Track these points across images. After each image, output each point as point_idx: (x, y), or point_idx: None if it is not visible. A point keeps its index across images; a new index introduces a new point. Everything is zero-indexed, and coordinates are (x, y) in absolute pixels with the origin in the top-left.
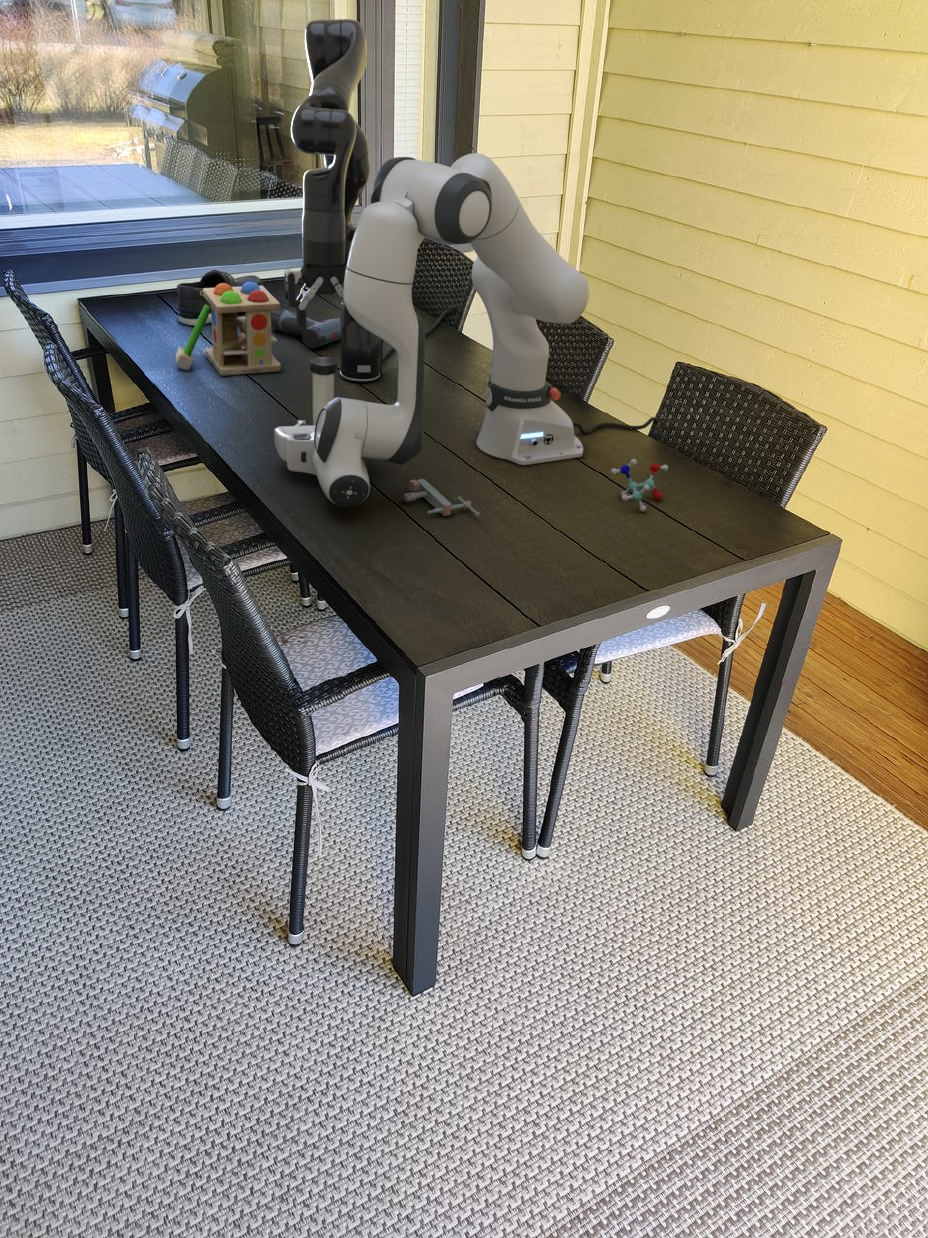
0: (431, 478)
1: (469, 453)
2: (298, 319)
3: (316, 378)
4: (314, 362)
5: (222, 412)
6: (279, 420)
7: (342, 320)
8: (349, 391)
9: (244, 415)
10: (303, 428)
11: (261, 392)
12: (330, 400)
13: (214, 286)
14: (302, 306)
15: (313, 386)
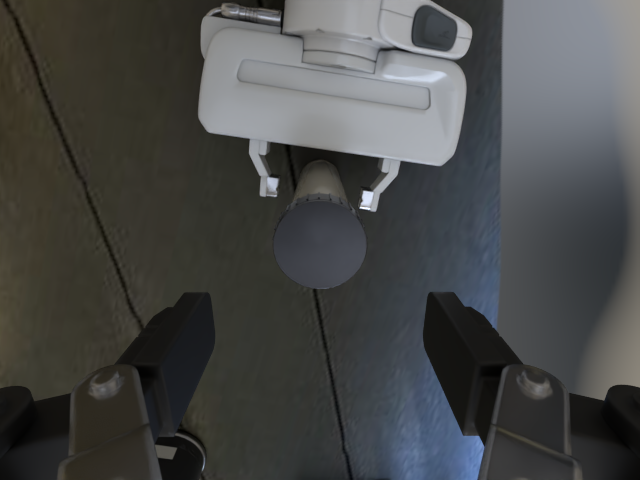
0: (125, 4)
1: (19, 110)
2: (497, 333)
3: None
4: (356, 240)
5: None
6: (353, 326)
7: (201, 334)
8: (204, 406)
9: (404, 354)
10: (389, 136)
11: (349, 424)
12: (307, 184)
13: None
14: (536, 380)
15: None
